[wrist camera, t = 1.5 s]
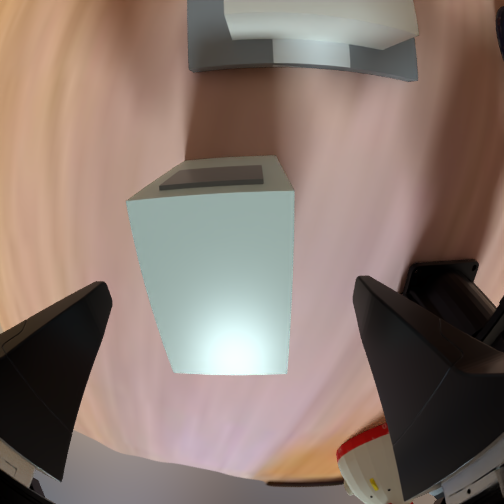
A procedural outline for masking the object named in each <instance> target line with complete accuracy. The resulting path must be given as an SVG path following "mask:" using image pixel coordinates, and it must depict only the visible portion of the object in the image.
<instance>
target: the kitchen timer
mask: <svg viewBox="0 0 504 504" xmlns="http://www.w3.org/2000/svg"><path fill="white" fill-rule="evenodd" d="M336 456H337V462H338V466H339V469H340V472H341V474H342V476H343V478H344V479H345V480H344V487H345V490H346V492H347V494H349V495H352V494H355V495H356V496H357V497H358V498H359V499H360V500H361V501H362V502H364V503H365V504H413V502H412V501H413V500H414V499H415V498H414V499H412V500H409V501H406V502H404V499H403V495H402V489H401V484H400V479H399V474H398V469H397V465H396V460H395V456H394V451H393V445H392V442H391V438H390V434H389V430H388V426H387V423H385V424H382V425H379V426H377V427H374V428H372V429H370V430H367V431H365V432H363V433H361V434H359V435H357V436H355V437H353V438H351V439H350V440H348V441H347V442H345V443H344V444H343V445H341V446H340V448H339V449H338V450H337V454H336Z"/></svg>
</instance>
